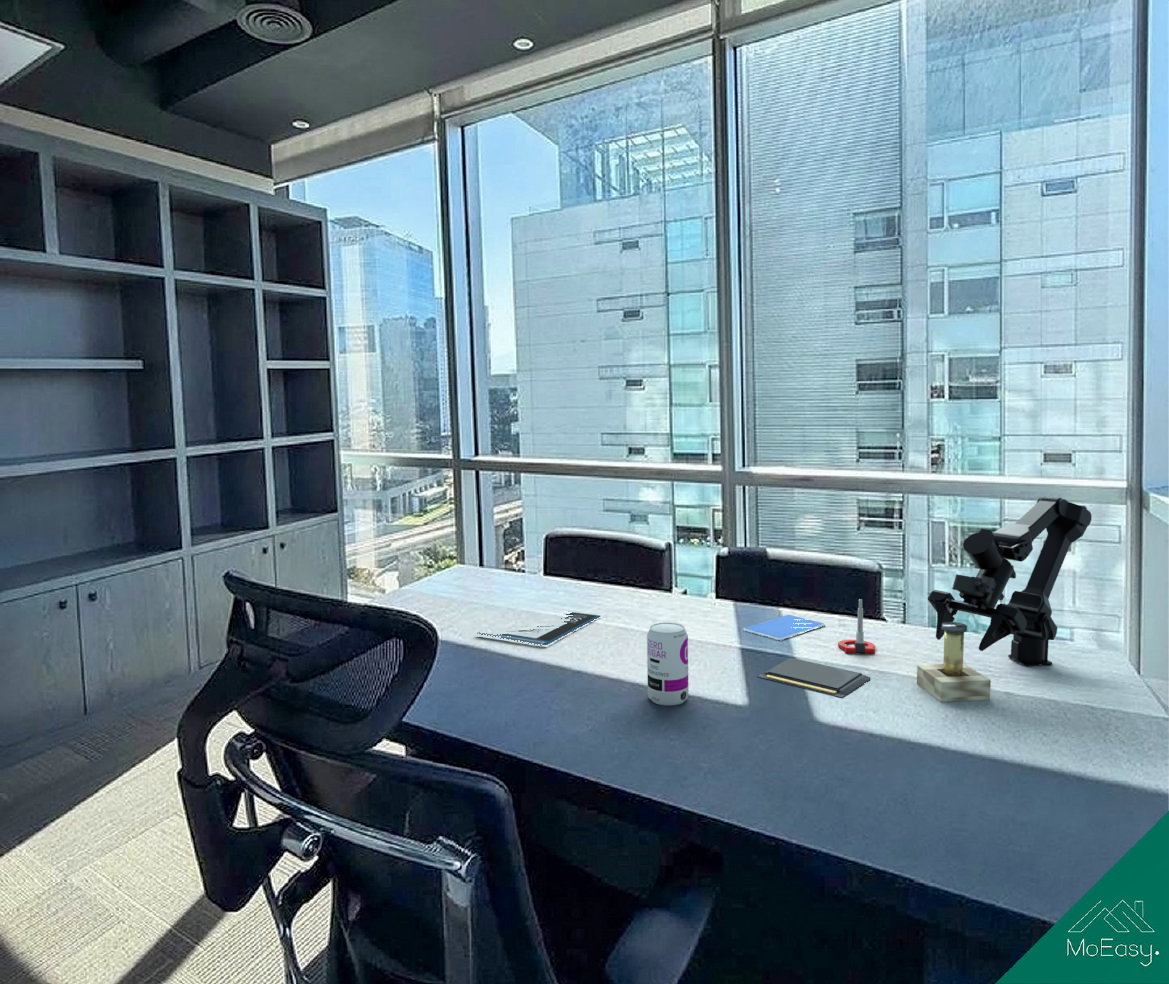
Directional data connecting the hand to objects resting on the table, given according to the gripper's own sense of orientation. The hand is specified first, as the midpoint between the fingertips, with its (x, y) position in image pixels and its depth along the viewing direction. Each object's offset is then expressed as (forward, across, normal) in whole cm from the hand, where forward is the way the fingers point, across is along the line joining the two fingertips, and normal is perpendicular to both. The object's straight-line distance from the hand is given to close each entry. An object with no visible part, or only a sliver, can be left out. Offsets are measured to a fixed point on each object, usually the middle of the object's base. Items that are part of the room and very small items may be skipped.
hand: (958, 644), depth 160 cm
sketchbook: (+40, -91, -26) cm, 103 cm away
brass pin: (+7, 0, +5) cm, 9 cm away
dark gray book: (+20, -22, -5) cm, 30 cm away
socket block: (+8, 0, +6) cm, 10 cm away
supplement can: (+42, -32, -29) cm, 60 cm away
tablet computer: (+4, -51, +11) cm, 52 cm away
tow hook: (+3, -29, +11) cm, 31 cm away
